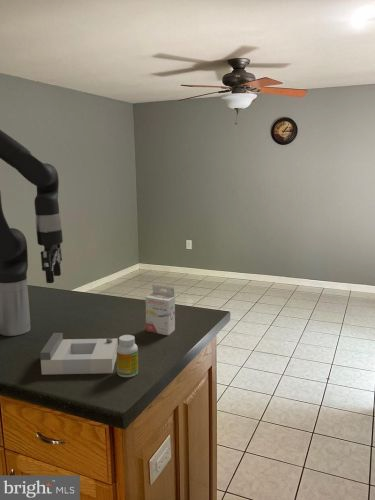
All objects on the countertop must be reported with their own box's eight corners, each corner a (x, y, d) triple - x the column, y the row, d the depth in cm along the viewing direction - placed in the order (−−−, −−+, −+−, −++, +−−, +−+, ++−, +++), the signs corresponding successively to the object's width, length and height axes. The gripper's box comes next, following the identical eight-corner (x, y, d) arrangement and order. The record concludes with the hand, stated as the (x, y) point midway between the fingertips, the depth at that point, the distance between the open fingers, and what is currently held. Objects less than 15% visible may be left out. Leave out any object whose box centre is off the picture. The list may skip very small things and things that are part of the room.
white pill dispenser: (41, 374, 108) (40, 352, 107) (54, 352, 121) (53, 332, 120) (112, 373, 109) (111, 351, 108) (118, 351, 122) (117, 331, 121)
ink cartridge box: (145, 331, 137) (144, 287, 134) (152, 326, 141) (152, 283, 138) (168, 335, 133) (168, 291, 130) (175, 330, 138) (175, 287, 135)
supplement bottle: (134, 379, 106) (133, 342, 104) (114, 376, 107) (112, 341, 105) (140, 369, 111) (140, 334, 109) (121, 367, 112) (120, 332, 111)
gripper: (43, 226, 138) (48, 274, 141) (29, 232, 124) (35, 286, 127) (66, 225, 138) (70, 273, 141) (55, 231, 124) (60, 284, 127)
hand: (54, 279), depth 134 cm, fingers open, 8 cm apart
